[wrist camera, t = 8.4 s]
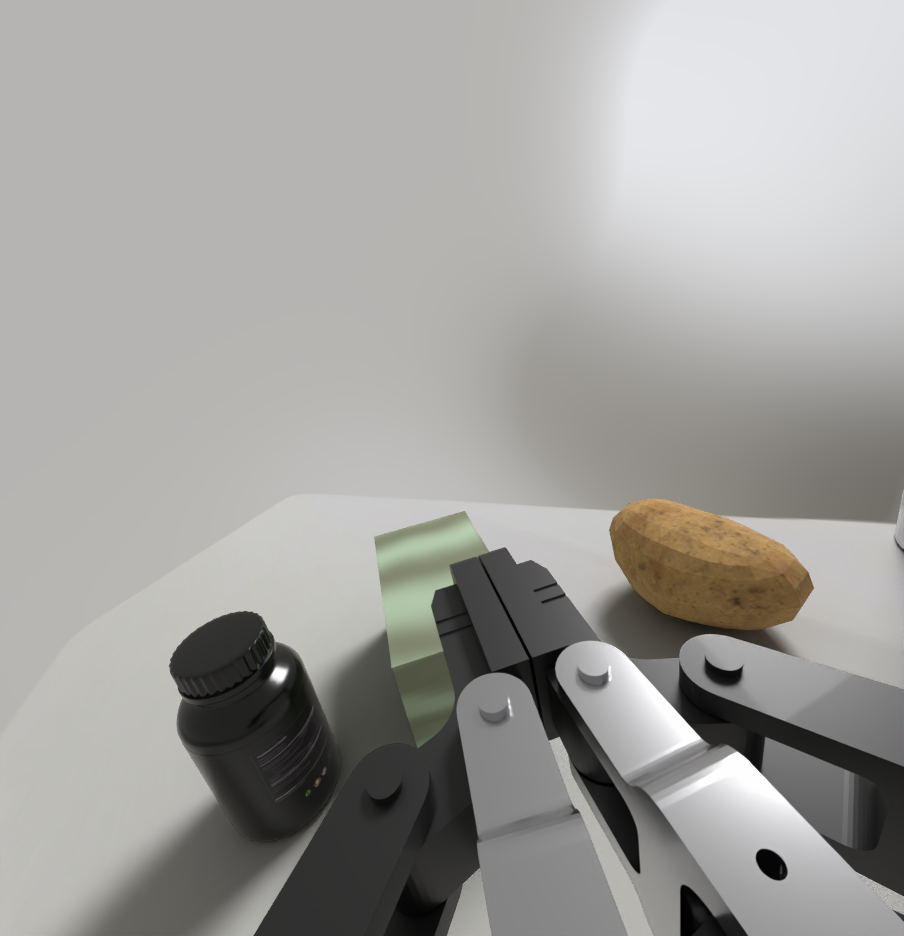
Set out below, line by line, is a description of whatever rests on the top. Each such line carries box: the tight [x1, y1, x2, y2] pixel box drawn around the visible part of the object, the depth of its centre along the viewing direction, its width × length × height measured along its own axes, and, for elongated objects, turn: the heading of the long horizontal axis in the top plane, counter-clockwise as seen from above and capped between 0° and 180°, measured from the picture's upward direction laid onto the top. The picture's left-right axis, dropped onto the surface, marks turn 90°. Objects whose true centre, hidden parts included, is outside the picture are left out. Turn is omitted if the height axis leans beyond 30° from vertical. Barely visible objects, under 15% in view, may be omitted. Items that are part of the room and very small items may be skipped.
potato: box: [609, 499, 814, 630], centre depth 34 cm, size 10×14×8 cm
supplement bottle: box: [169, 611, 340, 842], centre depth 26 cm, size 7×7×12 cm
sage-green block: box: [374, 511, 489, 748], centre depth 33 cm, size 15×8×9 cm, turn 13°
